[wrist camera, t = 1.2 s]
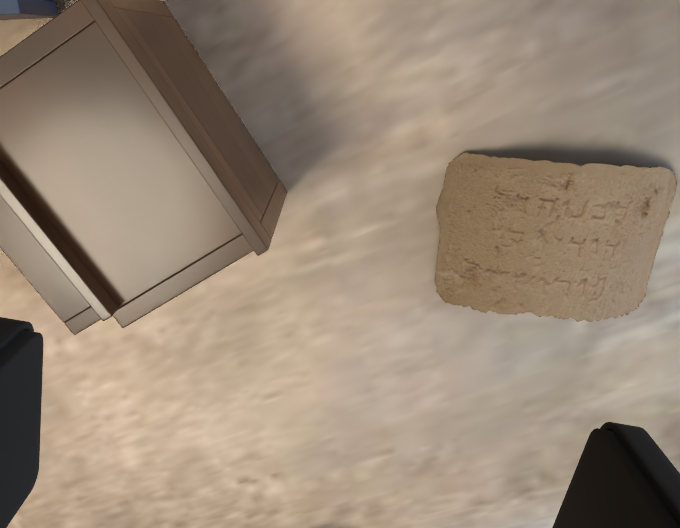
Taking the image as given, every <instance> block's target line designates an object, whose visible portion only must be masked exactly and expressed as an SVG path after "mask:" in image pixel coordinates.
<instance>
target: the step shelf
mask: <svg viewBox="0 0 680 528" xmlns="http://www.w3.org/2000/svg"><path fill="white" fill-rule="evenodd" d="M278 179H279V178H278V177H277V175H276V173H275V172H274V170H273V169H272V167H271V166H270V164H269V163H268V161H267V160H266V158H265V157H264V155H263V153H262V152H261V150H260V149H259V147H258V146H257V144H256V143H255V141H254V140H253V138H252V137H251V135H250V133H249V132H248V130H247V129H246V127H245V126H244V124H243V123H242V121H241V120H240V118H239V117H238V115H237V114H236V112H235V110H234V109H233V107H232V106H231V104H230V103H229V101H228V100H227V98H226V97H225V95H224V94H223V92H222V90H221V89H220V87H219V86H218V84H217V83H216V81H215V80H214V78H213V77H212V75H211V74H210V72H209V70H208V69H207V67H206V66H205V64H204V63H203V61H202V60H201V58H200V57H199V55H198V54H197V52H196V50H195V49H194V47H193V46H192V44H191V43H190V41H189V40H188V38H187V37H186V35H185V34H184V32H183V31H182V29H181V27H180V26H179V24H178V23H177V21H176V20H175V18H173V15H172V14H171V12H170V10H169V9H168V7H167V6H166V4H165V3H164V2H163V1H159V0H78V1H77V2H75V3H74V4H73V5H71V6H70V7H68V8H67V9H66V10H64V11H63V12H62V13H60V14H59V15H57V16H56V17H55V18H53V19H52V20H51V21H49V22H48V23H46V24H45V25H44V26H42V27H41V28H39V29H38V30H37V31H35V32H34V33H33V34H31V35H30V36H28V37H27V38H26V39H24V40H23V41H22V42H20V43H19V44H17V45H16V46H15V47H13V48H12V49H11V50H9V51H8V52H6V53H5V54H4V55H2V56H1V57H0V248H1V249H2V250H3V251H4V253H5V254H6V255H7V256H8V257H9V259H10V260H11V261H12V262H13V263H14V264H15V266H16V267H17V268H18V269H19V270H20V272H21V273H22V274H23V275H24V276H25V278H26V279H27V280H28V281H29V282H30V283H31V285H32V286H33V287H34V288H35V289H36V291H37V292H38V293H39V294H40V295H41V297H42V298H43V299H44V300H45V301H46V302H47V304H48V305H49V306H50V307H51V308H52V310H53V311H54V312H55V313H56V314H57V316H58V317H59V318H60V319H61V320H62V321H63V322H65V325H66V326H67V327H68V328H69V329H70V331H71V332H72V333H73V334H74V335H76V334H77V333H79V332H81V331H82V330H84V329H86V328H87V327H89V326H91V325H92V324H94V323H96V322H97V321H99V320H102V321H105V320H107V319H108V318H110V317H112V316H113V317H114V318H115V319H116V320H117V322H118V323H119V324H120V325H121V327H122V328H124V327H126V326H128V325H129V324H131V323H133V322H135V321H136V320H138V319H140V318H141V317H143V316H145V315H146V314H148V313H150V312H151V311H153V310H155V309H156V308H158V307H160V306H161V305H163V304H165V303H166V302H168V301H170V300H171V299H173V298H175V297H177V296H178V295H180V294H182V293H183V292H185V291H187V290H188V289H190V288H192V287H193V286H195V285H197V284H198V283H200V282H202V281H203V280H205V279H207V278H208V277H210V276H212V275H213V274H215V273H217V272H219V271H220V270H222V269H224V268H225V267H227V266H229V265H230V264H232V263H234V262H235V261H237V260H239V259H240V258H242V257H244V256H245V255H247V254H249V253H250V252H252V251H255V253H256V254H257V255H258V256H259V255H261V254H262V253H264V252H266V251H267V250H268V249H269V246H270V243H271V239H272V236H273V234H274V231H275V228H276V225H277V222H278V219H279V216H280V213H281V210H282V207H283V204H284V201H285V198H286V195H287V190H286V189H285V187H284V186H283V184H282V183H281V181H280V180H278Z"/></svg>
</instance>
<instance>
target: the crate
mask: <svg viewBox="0 0 680 528" xmlns="http://www.w3.org/2000/svg"><path fill="white" fill-rule="evenodd" d="M57 15H58V11H57V6H56V3H55V0H0V20H11V19H34V18H55V17H56V16H57Z"/></svg>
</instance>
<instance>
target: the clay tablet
mask: <svg viewBox="0 0 680 528" xmlns="http://www.w3.org/2000/svg"><path fill="white" fill-rule="evenodd" d="M676 185H677V182H676V180H675V173H672V171H671V170H668V169H667V168H662V167H660V166H659V167H657V168H655V167H652V168H647V167H641V168H637V167H634V166H630V165H627V166H626V165H624V166H622V167H621V168H620V167H619V166H615V165H610V164H598V163H588V164H586V165H583V166H577V165H575V164H572V163H560V162H557V163H552V162H551V161H547V160H543V161H542V160H539V161H531V160H527V159H523V158H521V159H515V158H514V157H513V158H505V157H502V158H498V157H495V156H494V157H491V158H489V157H488V156H486V155H484V154H479V155H476V154H475V153H473V154H469V153H466V152H465V153H463V154H461V155H460V156H459V157H458V158H456V159H454V160H453V161H452V162H450V163H449V166H448V167H447V171H446V174H445V180H444V188H443V190H442V192H441V195H440V197H439V200H438V204H437V216H438V219H439V224H440V229H441V233H440V241H439V248H438V256H437V267H436V274H435V283H436V286H437V293H438V294H439V295H440V297H441V298H442V299H443V301H445V302H446V303H450V304H453V305H461V306H463V307H466V306H471V308H472V309H474V310H479V311H480V312H485V313H486V312H487V311H489V310H491V311H492V312H496V313H499V314H518V313H527V312H531V313H533V314H535V315H537V316H539V317H541V316H553V317H555V318H559V319H560V318H562V319H569V318H572V319H575V320H576V321H577V322H578V321H582V320H586V321H589V322H592V321H594V320H595V321H600V320H602V319H603V320H605V319H608V318H611V317H613V318H617V317H618V316H619V315H620V316H623V315H624V314H626V315H628V314H629V312H631V311H633V310H634V309H636V308H637V307H639V303H641V302H642V300H643V299H644V297H645V296H646V290H647V285H648V281H649V278H650V274H651V270H652V267H653V263H654V259H655V255H656V252H657V249H658V247H659V244H660V240H661V237H662V235H663V228H664V225H665V223H666V220H667V219H668V217H669V214H670V212H669V209H670V205H671V203H672V200H673V198H674V195H675V191H676Z"/></svg>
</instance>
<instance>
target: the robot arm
mask: <svg viewBox="0 0 680 528" xmlns="http://www.w3.org/2000/svg"><path fill="white" fill-rule="evenodd" d="M42 366H43V337H42V335H41V334H40V333H37V332H34V329H33V326H32V324H31V323H30V322H25V321H19V320H14V319H8V318H2V317H0V528H6V527H7V526H8V524H9V523H10V521H11V520H12V518H13V517H14V516H15V514H16V513H17V511H18V510H19V508H20V507H21V505H22V504H23V502H24V501H25V499H26V498H27V497H28V495H29V494H30V492H31V490H32V489H33V486H34V484H35V482H36V479H37V475H38V470H39V451H40V422H41V394H42ZM553 528H680V473H679V472H678V471H677V469H676V468H675V467H674V466H673V464H672V463H671V462H670V461H669V459H668V458H667V457H666V456H665V454H664V453H663V452H662V451H661V449H660V448H659V447H658V445H657V444H656V443H655V442H654V440H653V439H652V438H651V437H650V435H649V434H648V433H647V432H646V431H645V430H644V429H643V428H640V427H636V426H630V425H624V424H618V423H612V422H607V423H605V424H604V425H603V426H602V427H601V428H600V429H598V428H597V429H594V430H593V431H592V432H591V434H590V436H589V438H588V440H587V443H586V445H585V448H584V450H583V453H582V455H581V458H580V460H579V463H578V465H577V468H576V470H575V473H574V475H573V478H572V480H571V483H570V485H569V488H568V490H567V493H566V495H565V498H564V500H563V503H562V505H561V508H560V510H559V513H558V515H557V518H556V520H555V523H554V525H553Z"/></svg>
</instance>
